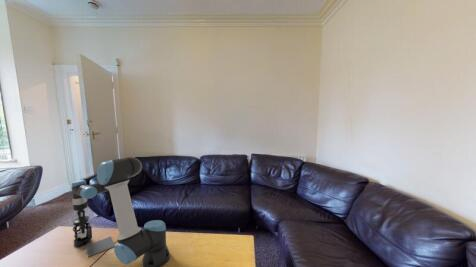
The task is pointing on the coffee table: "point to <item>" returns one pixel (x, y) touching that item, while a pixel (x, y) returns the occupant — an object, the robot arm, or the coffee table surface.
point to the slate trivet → (99, 246)
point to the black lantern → (78, 235)
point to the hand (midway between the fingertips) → (82, 233)
